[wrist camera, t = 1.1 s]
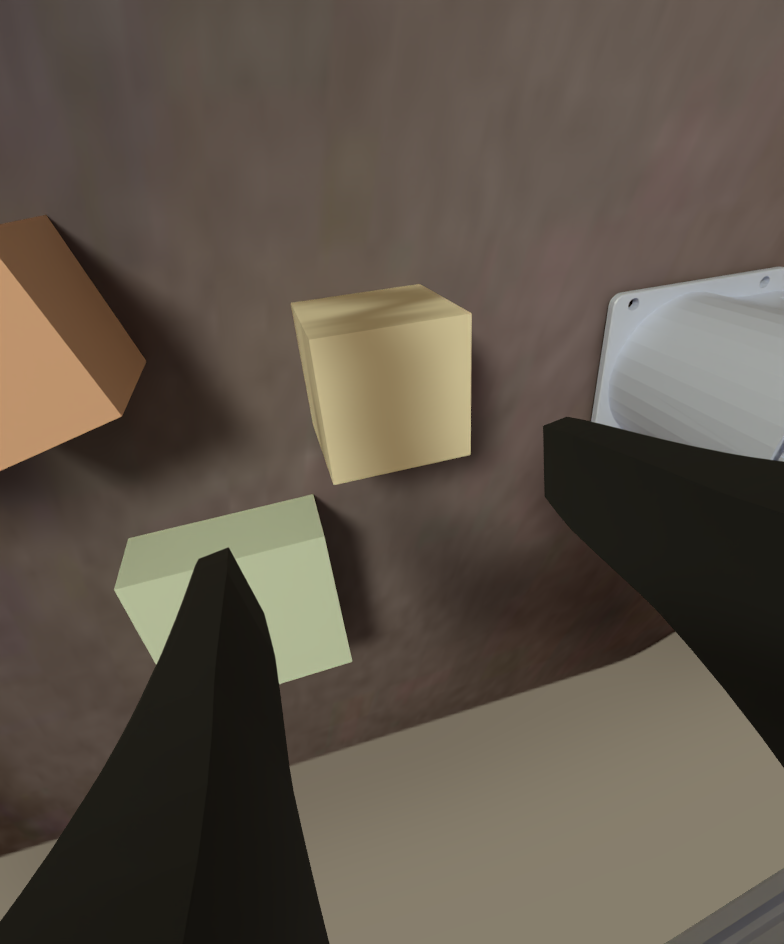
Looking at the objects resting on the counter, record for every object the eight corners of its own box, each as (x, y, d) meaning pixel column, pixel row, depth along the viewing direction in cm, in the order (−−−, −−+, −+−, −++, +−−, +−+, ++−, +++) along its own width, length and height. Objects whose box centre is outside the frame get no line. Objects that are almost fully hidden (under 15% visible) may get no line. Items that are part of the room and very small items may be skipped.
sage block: (312, 490, 23) (324, 536, 20) (338, 609, 27) (352, 661, 24) (129, 533, 21) (114, 589, 18) (188, 652, 26) (183, 713, 23)
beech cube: (419, 283, 19) (471, 313, 15) (424, 401, 22) (470, 454, 18) (290, 302, 18) (308, 340, 14) (312, 423, 21) (333, 484, 17)
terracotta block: (46, 214, 15) (-23, 229, 11) (146, 360, 18) (122, 416, 14) (-111, 281, 15) (-243, 321, 11) (16, 418, 18) (-49, 492, 13)
